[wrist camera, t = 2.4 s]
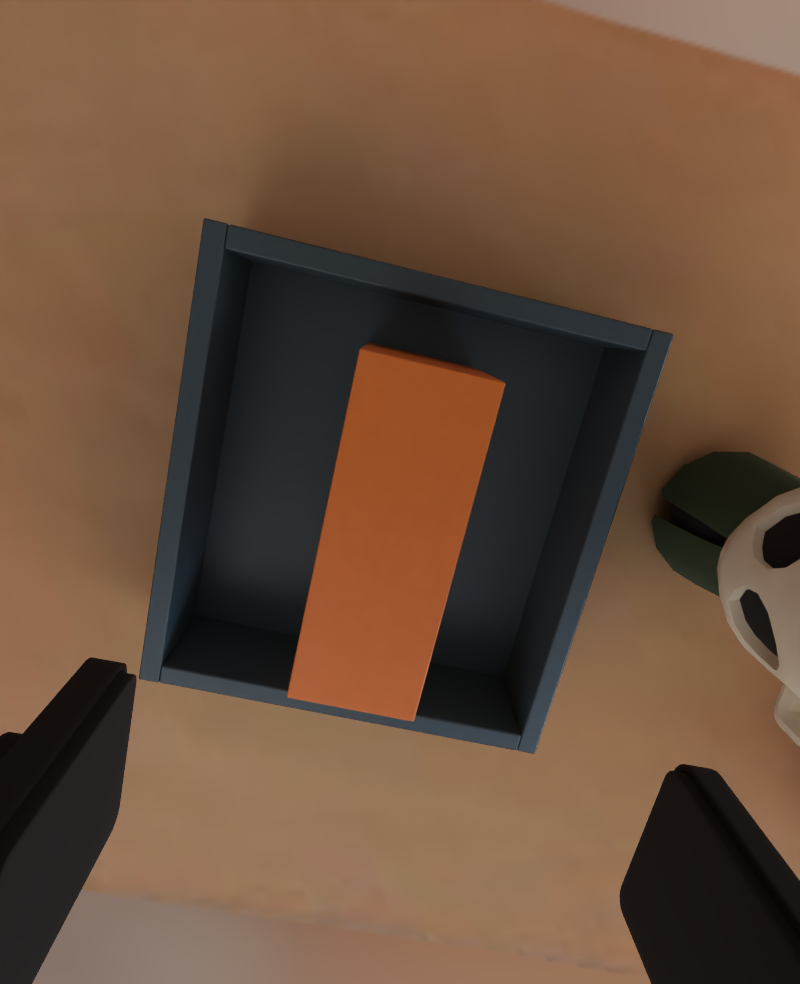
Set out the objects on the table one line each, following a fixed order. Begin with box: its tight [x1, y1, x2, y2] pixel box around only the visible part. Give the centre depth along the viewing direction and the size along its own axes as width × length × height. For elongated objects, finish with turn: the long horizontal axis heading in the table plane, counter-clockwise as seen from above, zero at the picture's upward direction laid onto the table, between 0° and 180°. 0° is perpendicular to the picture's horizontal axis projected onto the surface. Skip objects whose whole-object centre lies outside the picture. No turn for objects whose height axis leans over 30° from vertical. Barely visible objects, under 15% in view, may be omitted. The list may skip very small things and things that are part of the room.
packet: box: [287, 342, 505, 721], centre depth 24 cm, size 4×12×8 cm, turn 167°
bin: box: [139, 218, 673, 754], centre depth 26 cm, size 17×18×5 cm
